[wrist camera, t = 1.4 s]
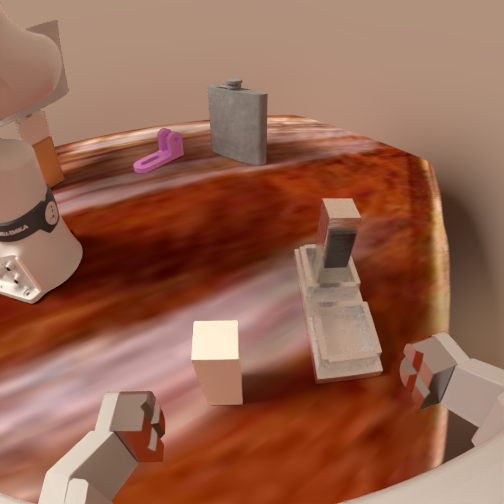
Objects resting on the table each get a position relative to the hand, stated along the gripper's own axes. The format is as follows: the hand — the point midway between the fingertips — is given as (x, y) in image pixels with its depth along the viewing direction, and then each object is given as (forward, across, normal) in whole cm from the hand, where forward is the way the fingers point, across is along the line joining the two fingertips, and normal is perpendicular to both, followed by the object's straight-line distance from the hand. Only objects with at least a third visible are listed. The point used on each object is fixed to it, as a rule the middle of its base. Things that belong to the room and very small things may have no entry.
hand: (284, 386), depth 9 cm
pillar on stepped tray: (+29, -11, +19) cm, 37 cm away
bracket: (+74, +17, +1) cm, 76 cm away
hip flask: (+73, -3, +3) cm, 73 cm away
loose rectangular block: (+20, +5, +22) cm, 30 cm away
